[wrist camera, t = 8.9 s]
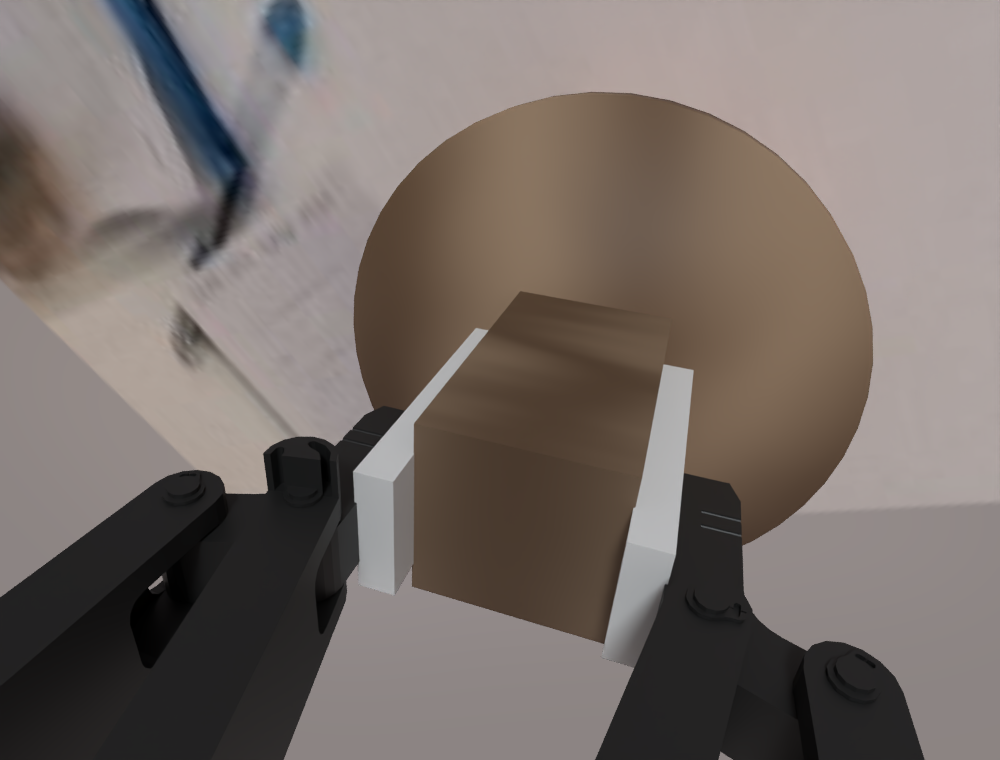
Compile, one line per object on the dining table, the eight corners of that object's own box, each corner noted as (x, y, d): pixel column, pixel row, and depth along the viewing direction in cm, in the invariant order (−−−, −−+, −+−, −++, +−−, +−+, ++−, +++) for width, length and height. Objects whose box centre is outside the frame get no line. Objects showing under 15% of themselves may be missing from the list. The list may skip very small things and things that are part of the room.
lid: (371, 492, 23) (233, 670, 17) (359, 64, 17) (118, 82, 10) (776, 601, 20) (801, 872, 14) (965, 129, 14) (1193, 217, 7)
